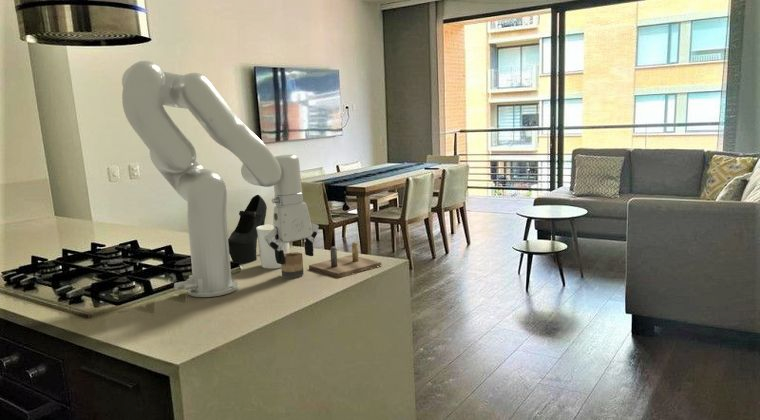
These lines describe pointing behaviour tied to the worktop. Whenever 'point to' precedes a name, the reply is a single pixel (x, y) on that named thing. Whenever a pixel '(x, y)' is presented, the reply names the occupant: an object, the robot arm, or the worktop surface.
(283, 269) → the sleeve
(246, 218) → the high-heeled shoe
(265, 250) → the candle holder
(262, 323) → the worktop surface
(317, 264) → the pin board
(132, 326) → the worktop surface
